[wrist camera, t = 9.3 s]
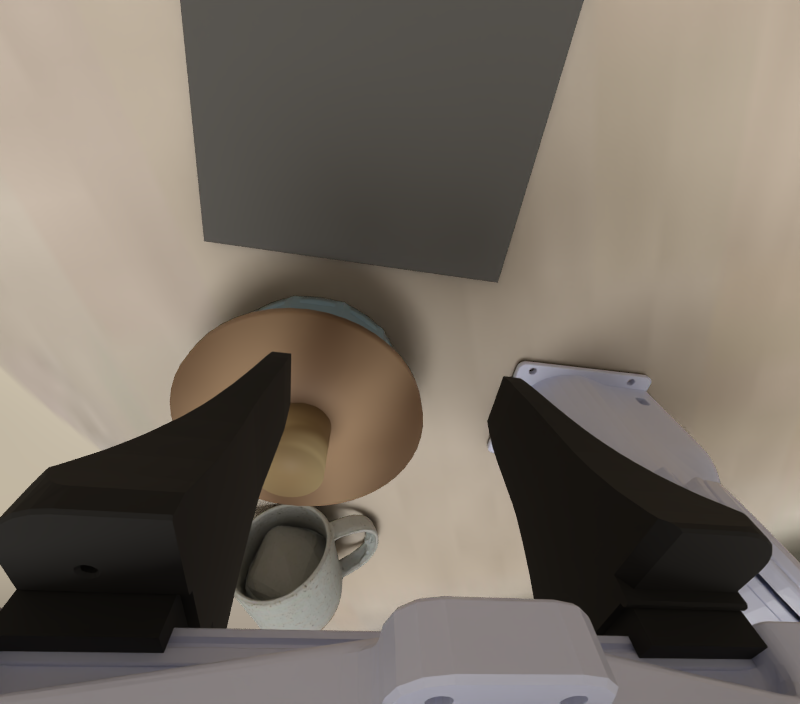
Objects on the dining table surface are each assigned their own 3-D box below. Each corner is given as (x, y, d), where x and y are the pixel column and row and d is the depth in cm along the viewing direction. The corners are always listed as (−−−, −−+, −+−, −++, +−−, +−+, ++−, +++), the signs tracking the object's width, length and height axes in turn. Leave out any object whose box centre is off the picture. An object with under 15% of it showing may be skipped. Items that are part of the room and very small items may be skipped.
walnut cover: (444, 326, 18) (459, 373, 15) (400, 502, 25) (404, 562, 21) (159, 290, 17) (102, 332, 13) (191, 487, 23) (159, 550, 20)
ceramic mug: (270, 563, 35) (248, 663, 29) (242, 507, 31) (208, 609, 25) (383, 548, 35) (386, 645, 29) (370, 490, 31) (370, 588, 25)
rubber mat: (596, -55, 15) (601, -59, 15) (495, 280, 22) (497, 282, 22) (168, -167, 13) (163, -174, 13) (207, 239, 20) (204, 241, 20)
